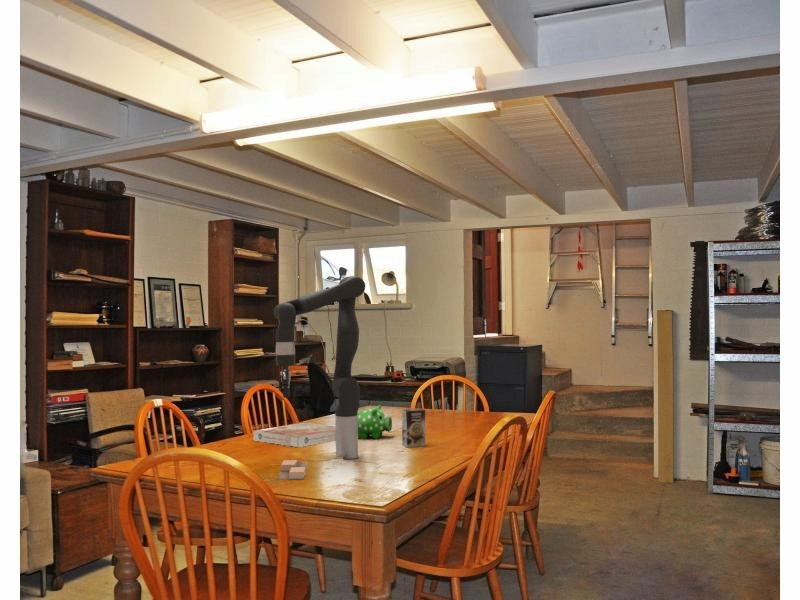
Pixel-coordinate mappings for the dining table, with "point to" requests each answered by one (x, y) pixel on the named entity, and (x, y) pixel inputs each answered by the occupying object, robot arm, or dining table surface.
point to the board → (286, 474)
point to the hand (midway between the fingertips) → (286, 397)
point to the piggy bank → (373, 423)
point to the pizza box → (296, 434)
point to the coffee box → (413, 427)
